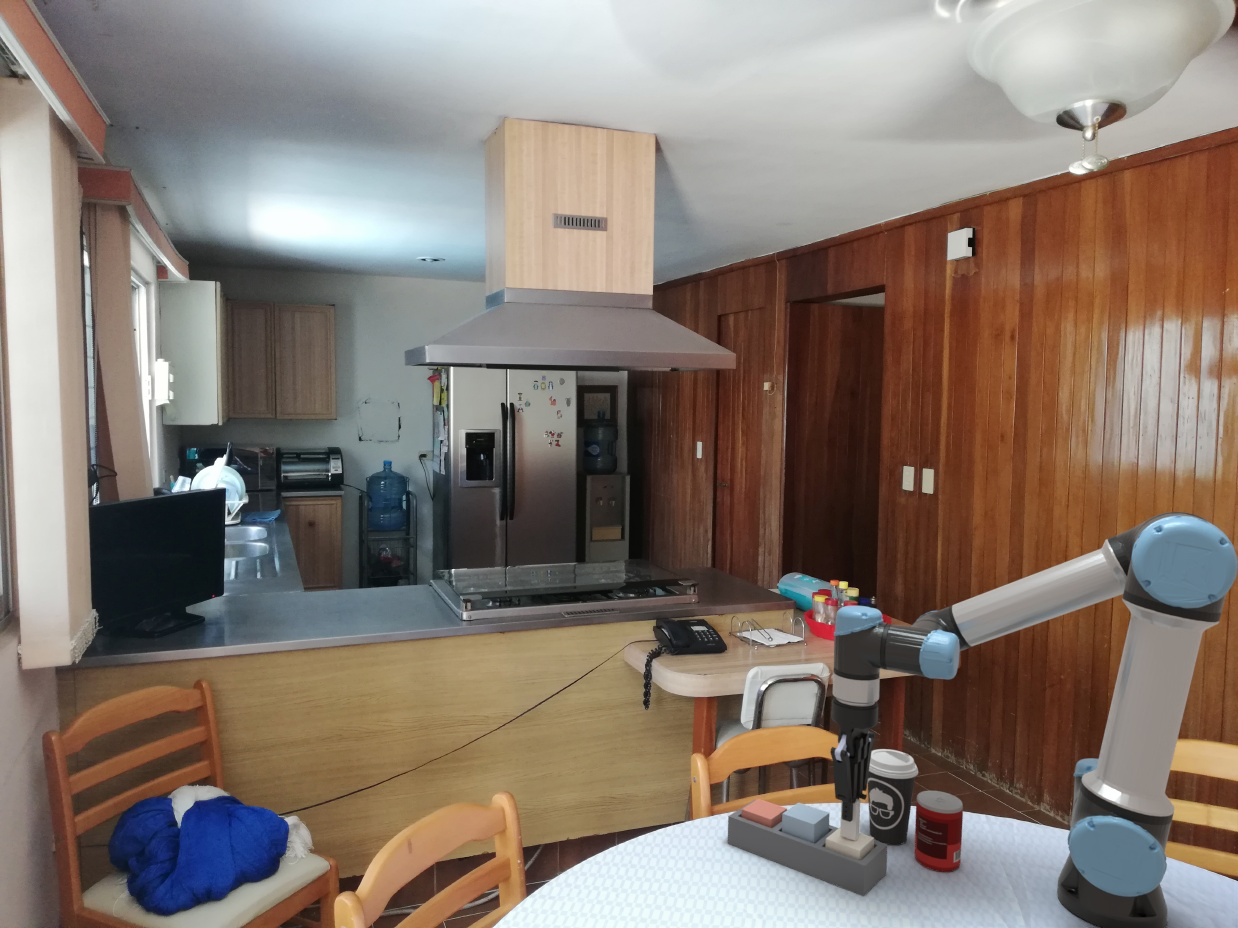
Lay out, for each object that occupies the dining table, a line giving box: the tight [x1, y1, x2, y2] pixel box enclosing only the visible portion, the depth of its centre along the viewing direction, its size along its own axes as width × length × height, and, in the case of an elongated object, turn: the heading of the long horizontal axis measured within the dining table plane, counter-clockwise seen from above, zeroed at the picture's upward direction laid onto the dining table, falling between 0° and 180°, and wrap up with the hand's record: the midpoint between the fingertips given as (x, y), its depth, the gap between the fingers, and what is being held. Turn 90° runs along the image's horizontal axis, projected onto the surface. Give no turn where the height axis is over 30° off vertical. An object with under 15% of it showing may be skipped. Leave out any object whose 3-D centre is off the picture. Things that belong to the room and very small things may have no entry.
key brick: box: [741, 798, 788, 828], centre depth 152 cm, size 6×6×4 cm
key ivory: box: [825, 827, 875, 860], centre depth 141 cm, size 6×6×4 cm
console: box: [726, 799, 888, 897], centre depth 146 cm, size 26×9×5 cm, turn 51°
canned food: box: [914, 790, 964, 873], centre depth 147 cm, size 8×8×11 cm
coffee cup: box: [867, 748, 919, 846], centre depth 155 cm, size 10×10×15 cm
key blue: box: [782, 802, 830, 844], centre depth 146 cm, size 6×6×4 cm
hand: (849, 836), depth 141 cm, fingers closed
